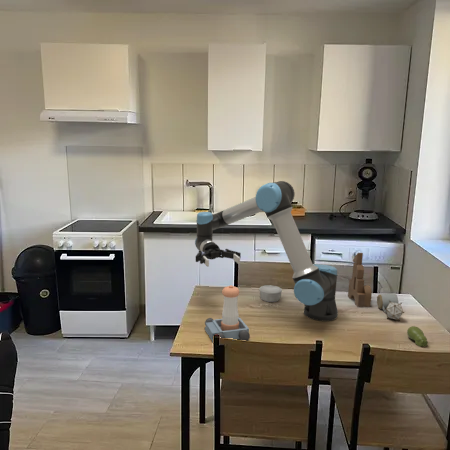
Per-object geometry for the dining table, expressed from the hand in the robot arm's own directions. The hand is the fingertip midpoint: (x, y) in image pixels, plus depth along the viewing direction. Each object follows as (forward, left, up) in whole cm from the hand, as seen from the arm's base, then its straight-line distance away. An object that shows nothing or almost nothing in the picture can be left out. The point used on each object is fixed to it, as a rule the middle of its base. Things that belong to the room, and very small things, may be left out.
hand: (223, 262), depth 180 cm
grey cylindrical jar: (-61, -53, -28) cm, 85 cm away
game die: (-64, -43, -28) cm, 82 cm away
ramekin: (-7, -37, -28) cm, 47 cm away
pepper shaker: (-7, +7, -26) cm, 28 cm away
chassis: (-6, +8, -27) cm, 29 cm away
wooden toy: (-46, -57, -28) cm, 79 cm away
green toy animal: (-75, -25, -28) cm, 84 cm away
